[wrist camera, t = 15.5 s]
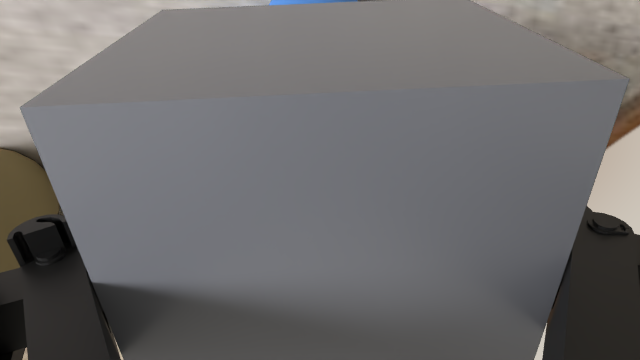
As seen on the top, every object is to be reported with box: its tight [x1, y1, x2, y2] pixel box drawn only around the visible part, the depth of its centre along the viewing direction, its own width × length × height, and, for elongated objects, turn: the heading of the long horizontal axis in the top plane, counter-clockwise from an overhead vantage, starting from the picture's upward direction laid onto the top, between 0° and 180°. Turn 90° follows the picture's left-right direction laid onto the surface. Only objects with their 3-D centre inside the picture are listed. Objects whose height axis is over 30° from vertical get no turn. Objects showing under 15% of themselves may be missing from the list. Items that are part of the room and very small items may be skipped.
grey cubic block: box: [20, 0, 629, 360], centre depth 14 cm, size 10×10×9 cm
